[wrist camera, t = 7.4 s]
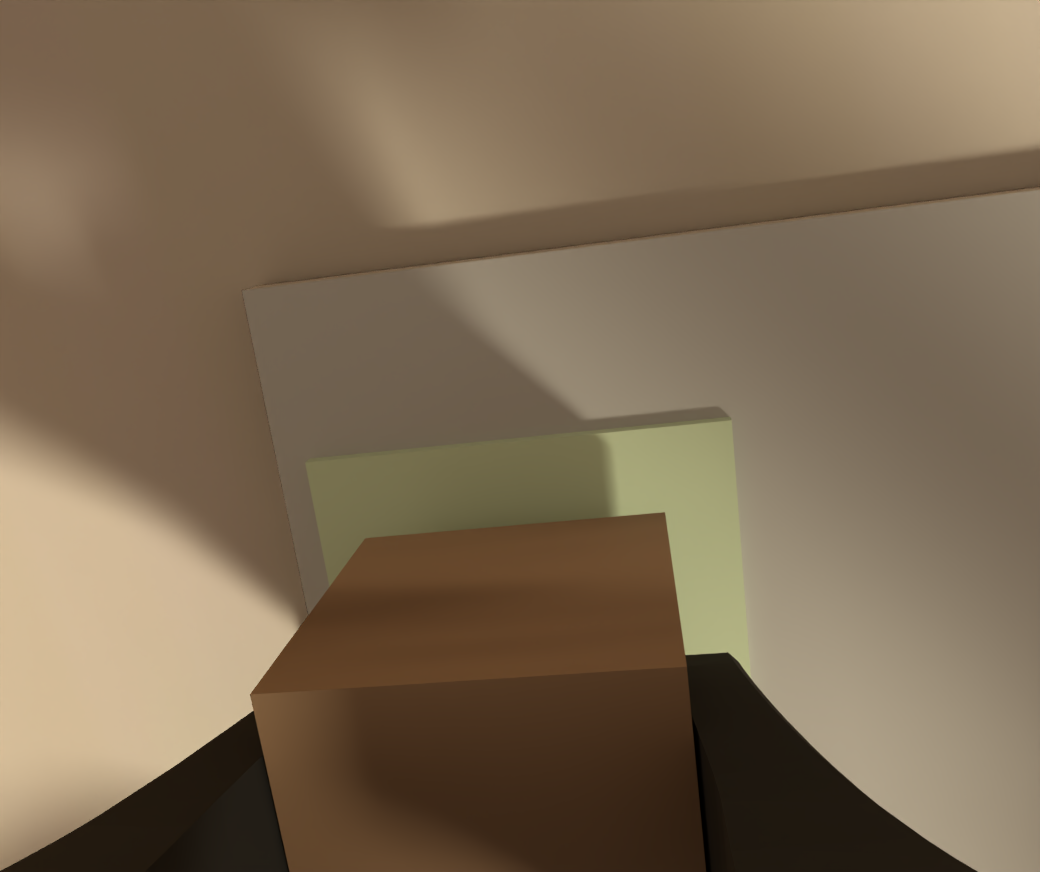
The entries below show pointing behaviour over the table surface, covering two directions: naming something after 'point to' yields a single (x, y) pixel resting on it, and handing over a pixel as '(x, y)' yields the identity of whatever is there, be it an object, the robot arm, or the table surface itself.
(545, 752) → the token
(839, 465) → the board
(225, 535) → the table surface
